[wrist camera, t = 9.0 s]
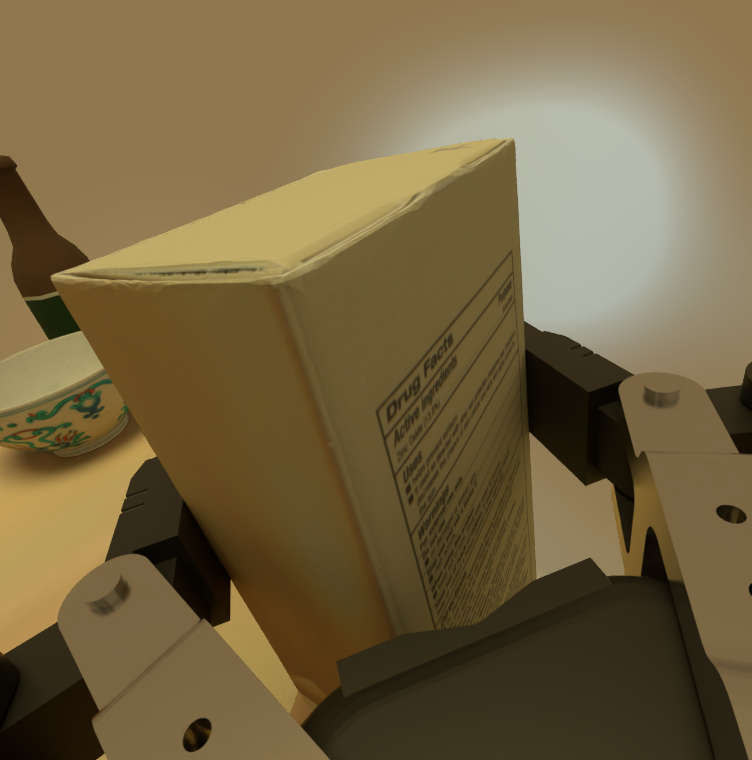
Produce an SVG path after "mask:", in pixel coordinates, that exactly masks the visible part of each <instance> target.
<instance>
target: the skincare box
mask: <svg viewBox="0 0 752 760" xmlns="http://www.w3.org/2000/svg"><path fill="white" fill-rule="evenodd" d="M515 156H516V154H515V142H514V139H513V138H506V139H501V140H499V139H487V140H480V141H473V142H467V143H459V144H454V145H449V146H443V147H438V148H433V149H427V150H422V151H417V152H412V153H406V154H400V155H395V156H388V157H383V158H377V159H371V160H366V161H361V162H355V163H351V164H347V165H342V166H339V167H336V168H332V169H329V170H324V171H319V172H316V173H314V174H312V175H310V176H308V177H305V178H303V179H301V180H298V181H295V182H293V183H290V184H288V185H285V186H282V187H280V188H279V189H275V190H272V191H270V192H268V193H265V194H262V195H259V196H257V197H255V198H252V199H249V200H247V201H244V202H242V203H240V204H238V205H235V206H233V207H230V208H226V209H224V210H221V211H219V212H217V213H215V214H213V215H211V216H208V217H204V218H201V219H198V220H196V221H194V222H191V223H189V224H187V225H184V226H181V227H179V228H175V229H173V230H171V231H169V232H166V233H163V234H161V235H158V236H156V237H152V238H149V239H146V240H143V241H141V242H139V243H137V244H135V245H133V246H130V247H127V248H125V249H122V250H119V251H116V252H114V253H112V254H110V255H108V256H105V257H102V258H98V259H95V260H92V261H90V262H87V263H85V264H82V265H79V266H77V267H74V268H71V269H68V270H65V271H62V272H59V273H56V274H54V275H51V281H52V283H53V284H54V286H55V288H56V290H57V291H58V293H59V295H60V297H61V298H62V300H63V302H64V303H65V305H66V307H67V308H68V310H69V312H70V313H71V315H72V317H73V318H74V320H75V321H76V323H77V324H78V326H79V328H80V329H81V331H82V332H83V334H84V336H85V337H86V339H87V340H88V342H89V344H90V346H91V347H92V349H93V351H94V352H95V354H96V356H97V357H98V359H99V361H100V362H101V364H102V366H103V367H104V369H105V371H106V372H107V374H108V376H109V378H110V379H111V381H112V383H113V384H114V386H115V387H116V389H117V391H118V392H119V394H120V396H121V397H122V399H123V400H124V402H125V404H126V405H127V407H128V409H129V410H130V412H131V414H132V415H133V417H134V418H135V420H136V422H137V423H138V425H139V427H140V429H141V430H142V432H143V434H144V435H145V437H146V439H147V441H148V442H149V444H150V446H151V447H152V449H153V451H154V452H155V454H156V456H157V457H158V459H159V461H160V462H161V464H162V466H163V467H164V469H165V470H166V472H167V474H168V476H169V477H170V479H171V481H172V482H173V484H174V486H175V487H176V489H177V490H178V492H179V493H180V495H181V497H182V498H183V500H184V501H185V503H186V505H187V507H188V508H189V510H190V511H191V513H192V515H193V517H194V518H195V520H196V522H197V523H198V525H199V527H200V528H201V530H202V532H203V533H204V535H205V537H206V538H207V540H208V542H209V543H210V545H211V547H212V548H213V550H214V552H215V553H216V555H217V557H218V558H219V560H220V562H221V563H222V565H223V566H224V568H225V569H226V571H227V573H228V575H229V577H230V578H231V580H232V582H233V584H234V585H235V587H236V589H237V590H238V592H239V594H240V595H241V597H242V598H243V600H244V602H245V603H246V605H247V607H248V608H249V610H250V612H251V613H252V615H253V616H254V618H255V620H256V621H257V623H258V625H259V626H260V628H261V630H262V631H263V633H264V634H265V636H266V638H267V639H268V641H269V643H270V644H271V646H272V648H273V649H274V651H275V652H276V654H277V656H278V657H279V659H280V661H281V662H282V664H283V666H284V667H285V669H286V671H287V673H288V674H289V676H290V678H291V679H292V681H293V683H294V684H295V686H296V688H297V689H298V691H299V693H300V694H301V696H302V698H303V700H304V701H305V703H306V704H307V706H308V708H309V709H310V711H311V712H312V711H313V710H314V709H315V708H316V707H317V706H318V705H319V704H320V703H321V702H322V701H323V700H324V699H325V698H326V697H327V696H328V695H329V694H330V693H332V692H333V691H334V690H335V689H337V688H338V687H339V686H340V685H341V683H340V678H339V673H338V668H337V663H336V661H338V660H341V659H343V658H345V657H348V656H350V655H353V654H355V653H358V652H360V651H363V650H365V649H367V648H370V647H372V646H375V645H377V644H380V643H382V642H385V641H387V640H390V639H392V638H394V637H397V636H399V635H402V634H407V633H415V632H422V631H430V630H438V629H445V628H453V627H460V626H468V625H473V624H476V623H478V622H480V621H482V620H483V619H484V618H486V617H487V616H488V615H490V614H491V613H492V612H493V611H495V610H496V609H497V608H499V607H500V606H501V605H502V604H504V603H505V602H506V601H507V600H509V599H510V598H511V597H513V596H514V595H515V594H516V593H518V592H519V591H520V590H521V589H523V588H524V587H525V586H527V585H528V584H529V583H530V582H532V581H534V580H536V562H535V561H536V560H535V539H534V521H533V505H532V504H533V503H532V482H531V464H530V441H529V421H528V402H527V379H526V356H525V338H524V316H523V294H522V273H521V256H520V235H519V215H518V196H517V178H516V158H515Z"/></svg>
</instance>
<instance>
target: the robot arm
mask: <svg viewBox="0 0 752 760" xmlns="http://www.w3.org/2000/svg"><path fill="white" fill-rule="evenodd" d="M524 338H525V356H526V379H527V402H528V421H529V432H530V433H531V434H532V435H533V436H534V437H536V438H537V439H538V440H539V441H540V442H541V443H542V444H543V445H544V446H545V447H546V448H547V449H548V450H549V451H550V452H551V453H552V454H553V455H554V456H555V457H556V458H557V459H558V460H559V461H560V462H561V463H563V464H564V465H565V466H566V467H567V468H568V469H569V470H570V471H571V472H572V473H573V474H574V475H575V476H576V477H577V478H578V479H579V480H580V481H581V482H582V483H583V484H584V485H585V486H587V485H589V484H592V483H594V482H597V481H600V480H602V479H605V478H607V479H608V480H609V481H610V482H611V483H612V489H611V498H612V503H613V509H614V514H615V520H616V525H617V532H618V537H619V543H620V548H621V554H622V559H623V565H624V572H625V576H606V575H605V574H604V573H603V572H602V570H601V569H600V568H599V567H598V566H597V565H596V563H595V562H594V561H593V560H592V559H591V558H588V559H586V560H583V561H581V562H578V563H576V564H573V565H571V566H568V567H566V568H564V569H561V570H559V571H556V572H554V573H551V574H549V575H546V576H544V577H541V578H539V579H537V580H534V581H532V582H530V583H529V584H528V585H527V586H525V587H524V588H523V589H521V590H520V591H519V592H518V593H516V594H515V595H514V596H513V597H511V598H510V599H509V600H507V601H506V602H505V603H504V604H502V605H501V606H500V607H499V608H497V609H496V610H495V611H493V612H492V613H491V614H490V615H488V616H487V617H486V618H484V619H483V620H482V621H480V622H478V623H476V624H473V625H468V626H460V627H453V628H445V629H438V630H430V631H422V632H415V633H407V634H402V635H399V636H397V637H394V638H392V639H390V640H387V641H385V642H382V643H380V644H377V645H375V646H372V647H370V648H367V649H365V650H363V651H360V652H358V653H355V654H353V655H350V656H348V657H345V658H343V659H341V660H338V661H336V663H337V668H338V673H339V678H340V683H341V685H340V686H339V687H338V688H337V689H335V690H334V691H333V692H332V693H330V694H329V695H328V696H327V697H326V698H325V699H324V700H323V701H322V702H321V703H320V704H319V705H318V706H317V707H316V708H315V709H314V710H313V711H312V712H311V714H310V715H309V716H308V717H307V718H306V720H305V721H304V722H303V723H302V724H301V726H300V725H299V724H298V723H297V722H296V721H295V720H294V718H293V717H292V716H291V715H290V714H289V713H288V712H287V711H286V709H285V708H284V707H283V706H282V705H281V704H280V703H279V701H278V700H277V699H276V698H275V697H274V696H273V695H272V694H271V692H270V691H269V690H268V689H267V688H266V687H265V686H264V684H263V683H262V682H261V681H260V680H259V679H258V678H257V677H256V675H255V674H254V673H253V672H252V671H251V670H250V669H249V668H248V666H247V665H246V664H245V663H244V662H243V661H242V660H241V658H240V657H239V656H238V655H237V654H236V653H235V652H234V651H233V649H232V648H231V647H230V646H229V645H228V644H227V643H226V641H225V640H224V639H223V638H222V637H221V636H220V635H219V634H218V632H217V631H216V630H215V629H214V628H213V627H214V626H217V625H220V624H222V623H225V622H227V621H230V587H231V578H230V577H229V575H228V573H227V571H226V569H225V568H224V566H223V565H222V563H221V562H220V560H219V558H218V557H217V555H216V553H215V552H214V550H213V548H212V547H211V545H210V543H209V542H208V540H207V538H206V537H205V535H204V533H203V532H202V530H201V528H200V527H199V525H198V523H197V522H196V520H195V518H194V517H193V515H192V513H191V511H190V510H189V508H188V507H187V505H186V503H185V501H184V500H183V498H182V497H181V495H180V493H179V492H178V490H177V489H176V487H175V486H174V484H173V482H172V481H171V479H170V477H169V476H168V474H167V472H166V470H165V469H164V467H163V466H162V464H161V462H160V461H159V459H158V457H157V456H156V457H155V458H152V459H149V460H146V461H145V462H144V463H143V464H142V466H141V467H140V468H139V469H138V471H137V472H136V473H135V474H134V476H133V477H132V478H131V481H130V484H129V487H128V490H127V493H126V498H127V499H125V500H124V503H123V506H122V509H121V511H122V514H120V515H119V519H118V522H117V525H116V528H115V531H114V534H113V538H112V541H111V544H110V547H109V550H108V553H107V556H106V560H105V563H103V564H101V565H99V566H98V567H96V568H95V569H93V570H92V571H91V572H89V573H88V574H87V575H86V576H84V577H83V578H82V579H81V580H80V581H79V582H78V583H77V584H76V585H75V586H74V587H73V588H72V590H71V591H70V592H69V594H68V595H67V596H66V598H65V600H64V601H63V603H62V605H61V607H60V610H59V613H58V622H56V623H55V624H53V625H52V626H50V627H49V628H47V629H45V630H44V631H42V632H40V633H39V634H37V635H35V636H34V637H32V638H31V639H29V640H27V641H26V642H24V643H22V644H21V645H19V646H17V647H16V648H14V649H12V650H11V651H9V652H7V653H6V654H4V655H3V654H2V653H1V652H0V760H96V759H98V758H99V757H100V756H102V755H103V754H104V753H105V755H106V757H107V759H108V760H752V362H751V363H750V364H748V366H747V367H746V370H745V375H744V379H743V383H742V385H740V386H731V387H723V388H715V389H706V390H704V388H703V387H702V386H700V385H699V384H698V383H696V382H695V381H693V380H691V379H688V378H686V377H683V376H679V375H675V374H669V373H654V372H653V373H644V374H638V375H633V374H631V373H630V372H628V371H626V370H625V369H623V368H621V367H619V366H618V365H616V364H614V363H612V362H610V361H609V360H607V359H605V358H603V357H601V356H600V355H598V354H594V353H593V351H591V350H589V349H587V348H586V347H584V346H583V347H581V345H580V344H579V343H577V342H575V341H573V340H571V339H570V338H568V337H566V336H563V335H558V334H555V333H551V332H547V331H544V332H542V331H540V330H538V329H537V328H535V327H533V326H531V325H530V324H528V323H526V322H525V321H524Z"/></svg>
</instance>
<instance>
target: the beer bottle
mask: <svg viewBox="0 0 752 760" xmlns="http://www.w3.org/2000/svg"><path fill="white" fill-rule="evenodd" d="M16 167H17V165H16V163H15V162H14V161H13V160H12V159H11V158H10V157H9V156H0V218H1V220H2V222H3V224H4V226H5V228H6V229H7V231H8V234H9V236H10V239H11V242H12V245H13V254H12V262H11V266H12V272H13V277H14V281H15V284H16V285H17V287H18V289H19V291H20V293H21V295H22V297H23V299H24V300H25V302H26V303H27V305H28V307H29V308H30V310H31V312H32V313H33V315H34V316H35V318H36V320H37V321H38V323H39V324H40V326H41V327H42V329H43V331H44V332H45V334H46V336H47V337H48V339H49V340H52V339H55V338H58V337H61V336H65V335H68V334H71V333H75V332H79V331H81V329H80V328H79V326H78V324H77V323H76V321H75V320H74V318H73V317H72V315H71V313H70V312H69V310H68V308H67V307H66V305H65V303H64V302H63V300H62V298H61V297H60V295H59V293H58V291H57V290H56V288H55V286H54V284H53V283H52V281H51V275H54V274H56V273H59V272H62V271H65V270H68V269H71V268H74V267H77V266H79V265H82V264H85V263H87V262H90V261H89V260H88V258H87V256H85V255H84V254H83V253H82V252H81V251H80V250H79V249H78V248H77V247H76V246H75V245H74V244H72V243H71V242H69V241H68V240H66V239H65V238H63V237H61V236H60V235H58V234H57V232H56V231H55V230H54V229H53V227H52V226H51V225H50V223H49V222H48V221H47V219H46V218H45V216H44V215H43V213H42V211H41V210H40V208H39V206H38V205H37V203H36V202H35V200H34V199H33V197H32V195H31V194H30V192H29V191H28V189H27V187H26V186H25V184H24V183H23V181H22V179H21V178H20V176H19V175H18V173H17V171H16V170H15V169H16Z"/></svg>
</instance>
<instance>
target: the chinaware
mask: <svg viewBox="0 0 752 760" xmlns="http://www.w3.org/2000/svg"><path fill="white" fill-rule="evenodd" d="M128 411H129V409H128V407H127V405H126V404H125V402H124V400H123V399H122V397H121V396H120V394H119V392H118V391H117V389H116V387H115V386H114V384H113V383H112V381H111V379H110V378H109V376H108V374H107V372H106V371H105V369H104V367H103V366H102V364H101V362H100V361H99V359H98V357H97V356H96V354H95V352H94V351H93V349H92V347H91V346H90V344H89V342H88V340H87V339H86V337H85V336H84V334H83V332H82V331H79V332H75V333H71V334H68V335H65V336H61V337H58V338H55V339H52V340H49V341H47V342H44V343H41V344H38V345H36V346H33V347H31V348H28V349H26V350H24V351H21V352H19V353H17V354H14V355H12V356H10V357H8V358H6V359H4V360H2V361H0V446H2V447H5V448H10V449H14V450H20V451H29V452H50V451H53V453H54V454H55V455H57V456H59V457H73V456H78V455H81V454H84V453H87V452H90V451H92V450H95V449H97V448H99V447H101V446H103V445H104V444H106V443H108V442H109V441H111V440H112V439H114V438H115V437H116V436H117V435H119V434H120V433H121V432H122V431H123V430H124V428H125V427H126V425H127V424H128V421H129V417H128V415H127V413H128Z"/></svg>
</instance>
